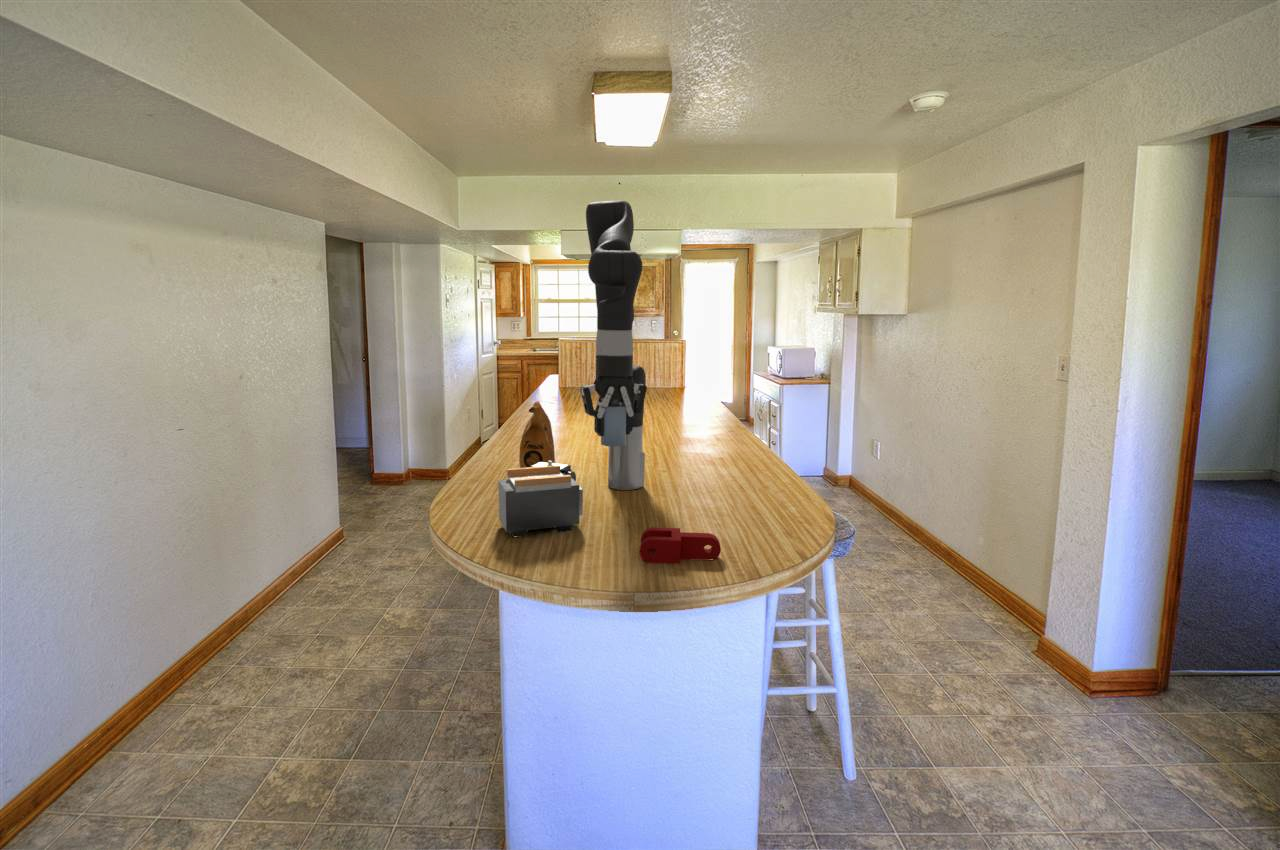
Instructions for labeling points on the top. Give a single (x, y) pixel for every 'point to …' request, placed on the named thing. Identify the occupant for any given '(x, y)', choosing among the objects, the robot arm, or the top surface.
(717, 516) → the top surface
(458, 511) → the top surface
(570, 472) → the pneumatic valve
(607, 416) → the blue-gray bottle
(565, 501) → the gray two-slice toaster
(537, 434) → the coffee package
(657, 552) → the mechanical linkage
